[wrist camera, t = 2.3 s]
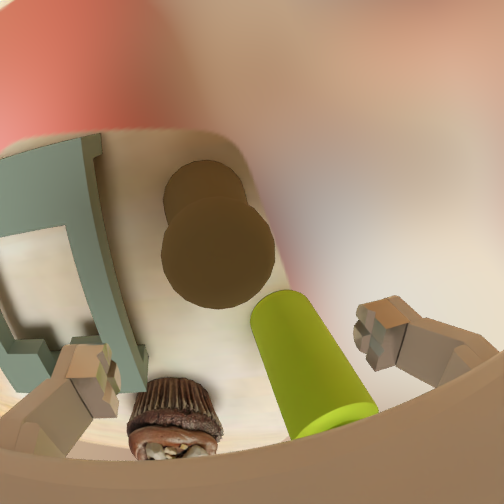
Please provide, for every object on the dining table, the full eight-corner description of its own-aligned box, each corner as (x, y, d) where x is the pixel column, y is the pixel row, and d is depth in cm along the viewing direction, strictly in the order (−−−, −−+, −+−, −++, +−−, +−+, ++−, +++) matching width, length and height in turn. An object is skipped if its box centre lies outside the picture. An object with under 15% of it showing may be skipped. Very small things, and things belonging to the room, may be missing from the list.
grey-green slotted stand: (-39, 173, 16) (-70, 187, 12) (100, 133, 19) (80, 137, 15) (28, 362, 25) (16, 392, 21) (148, 356, 27) (146, 391, 23)
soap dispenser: (266, 356, 30) (340, 542, 12) (239, 307, 27) (320, 537, 9) (320, 331, 30) (422, 502, 12) (301, 279, 27) (435, 480, 9)
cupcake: (137, 423, 31) (137, 495, 22) (123, 369, 27) (115, 454, 19) (216, 422, 33) (230, 493, 25) (218, 368, 30) (236, 452, 21)
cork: (176, 248, 24) (176, 343, 14) (153, 173, 21) (127, 224, 11) (252, 227, 24) (301, 308, 14) (235, 150, 21) (281, 181, 12)
